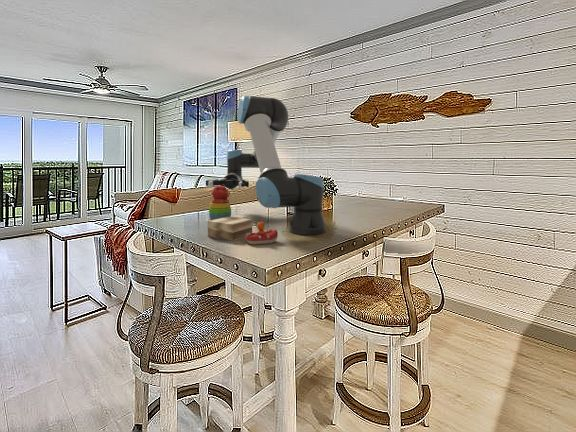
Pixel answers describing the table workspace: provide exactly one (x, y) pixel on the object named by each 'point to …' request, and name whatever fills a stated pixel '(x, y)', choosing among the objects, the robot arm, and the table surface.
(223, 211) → the stacking bear
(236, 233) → the pedestal
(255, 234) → the toy boat
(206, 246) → the table surface
